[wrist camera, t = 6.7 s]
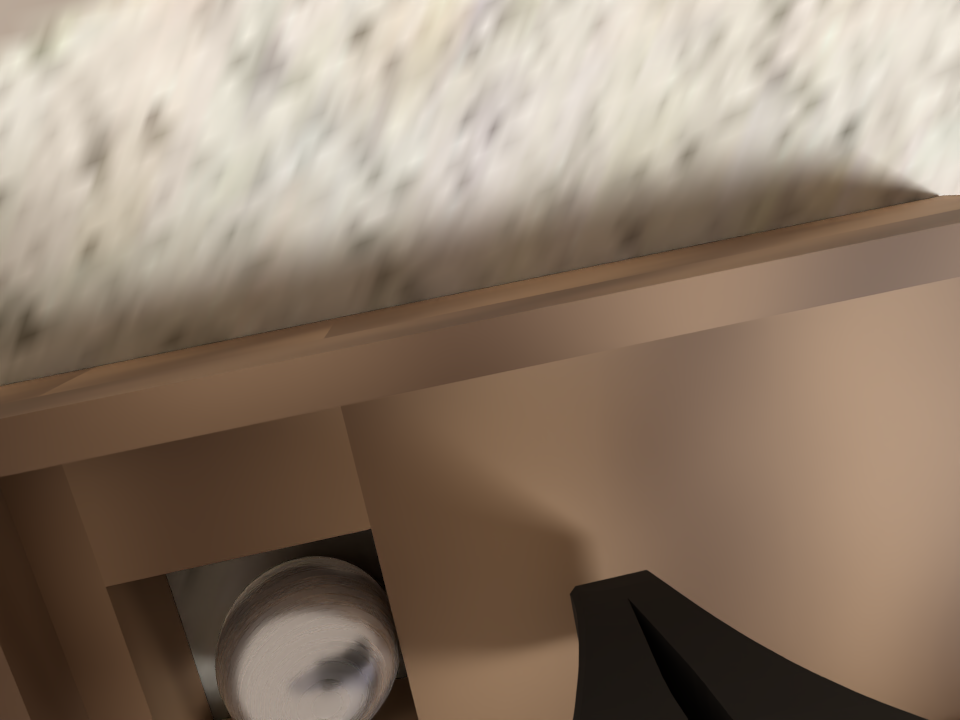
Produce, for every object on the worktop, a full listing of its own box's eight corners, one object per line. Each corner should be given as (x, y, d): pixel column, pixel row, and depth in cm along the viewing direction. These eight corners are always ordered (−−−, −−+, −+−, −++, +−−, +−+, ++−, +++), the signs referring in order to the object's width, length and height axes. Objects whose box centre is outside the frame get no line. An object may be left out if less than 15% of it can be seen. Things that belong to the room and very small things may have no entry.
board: (942, 195, 13) (1106, 192, 10) (956, 678, 16) (1090, 794, 13) (-5, 387, 12) (-146, 448, 9) (173, 867, 15) (109, 1041, 12)
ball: (355, 505, 14) (400, 580, 11) (390, 638, 15) (441, 740, 12) (189, 565, 13) (191, 666, 10) (238, 704, 14) (253, 833, 11)
